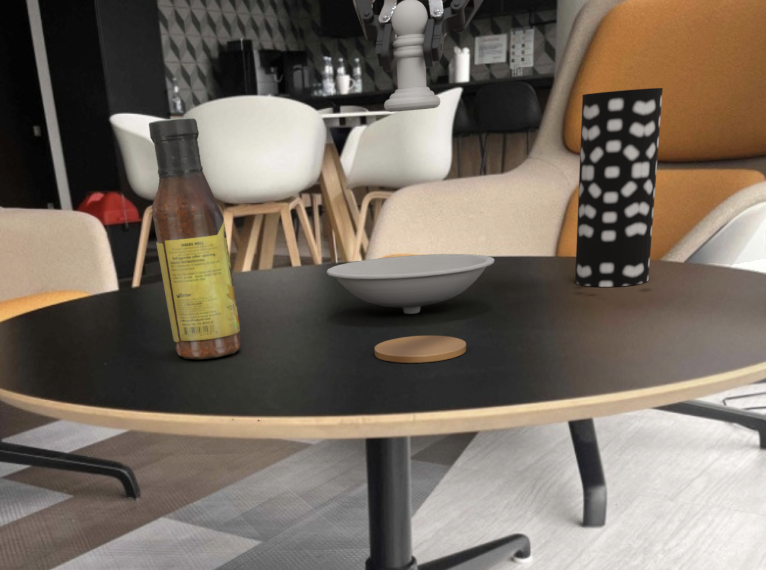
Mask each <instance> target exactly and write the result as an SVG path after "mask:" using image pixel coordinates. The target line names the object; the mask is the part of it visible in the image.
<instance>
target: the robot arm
mask: <svg viewBox="0 0 766 570" xmlns="http://www.w3.org/2000/svg"><path fill="white" fill-rule="evenodd" d="M375 1H376V0H352V4H353V7H354V9H355V12H356V15H357V18H358V20H359V23H360V26H361V29H362V31H363V34H364V36H365V40H366V41H368V42H374V41H376V42H375V49H374V51H375V52H374V53H375V56H376V61H377V64H378V66H379V67H382V68H383V72H384V73H388V72H389V73H390V72H393V70H394V64H395V59H394V58H393V53H394V52H395V49H394V48H393V42H394V41H396V38H397V37H398V36H397V35H396V34H395V32H394V30H393V27H392V15H393V11H394V9H395V7H396V6H397V5H398V4H399V3H400V2H402V1H404V0H384V1H383V2H384V3H383V6H382V8H381V11H380V13H379V15H378V14H374V10H373V8H374V6H373V5H374V2H375ZM417 1H419V2H421V3H422V4H423V5H424V7H425V9H426V11H427V13H429V15H430V17H429V18H428V19H427V23H426V30H425V32H424V35H425V37H424V44H423V55H424V61H425V66H426V69H432V68H433V69H434V68H435V62H439V61H440V60H441V58H442V57H443V50H444V43H445V37H446V36H447V35H448V34H447V33H449V32H451V31H454V32H455V33H462V32H464V31H465V30H466V29H467V27H468V26H469V24H470V23H471V21H472V19H473V18H474V16H475V15H476V13H477V11H478V10H479V9H480V7H481V5H482V4H483V2H484V0H452V1H451V2H450V6H449V7H446V8H444V5H443V4H444V3H445V2H446V1H447V0H417Z"/></svg>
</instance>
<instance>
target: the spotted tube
mask: <svg viewBox="0 0 766 570" xmlns="http://www.w3.org/2000/svg"><path fill="white" fill-rule="evenodd" d="M663 89H664V87H652V88H637V89H624V90H623V89H622V90H613V91H603V92H593V93H585V94H582V99H581V101H582V102H581V125H580V151H579V174H578V199H577V200H578V201H577V225H576V226H577V227H576V249H575V272H574V274H575V275H574V282H575V284H577V285H580V286H584V287H595V288H596V287H597V288H613V287H614V288H617V287H628V286H637V285H641V284H644V283H646V282H648V281H649V280H650V279H649V278H650V266H651V265H650V264H651V251H652V239H653V237H652V236H653V223H654V212H655V211H654V210H655V199H656V198H655V197H656V186H657V185H656V183H657V169H658V159H659V158H658V155H659V144H660V143H659V142H660V130H661V129H660V128H661V116H662V105H663V103H662V102H663Z"/></svg>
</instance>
